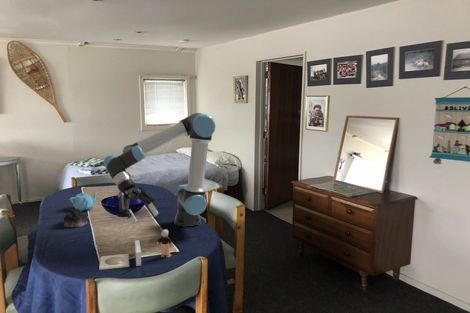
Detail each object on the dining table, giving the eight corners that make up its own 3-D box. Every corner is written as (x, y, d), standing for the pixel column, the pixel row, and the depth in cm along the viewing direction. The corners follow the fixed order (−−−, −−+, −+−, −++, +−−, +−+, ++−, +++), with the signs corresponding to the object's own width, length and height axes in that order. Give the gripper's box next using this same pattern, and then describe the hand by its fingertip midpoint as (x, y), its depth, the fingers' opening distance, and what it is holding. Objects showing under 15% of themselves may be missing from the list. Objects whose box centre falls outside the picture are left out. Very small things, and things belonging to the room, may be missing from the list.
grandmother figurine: (173, 254, 165) (173, 228, 163) (172, 257, 162) (172, 231, 160) (157, 254, 165) (157, 228, 163) (155, 257, 161) (155, 231, 159)
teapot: (68, 212, 221) (67, 195, 219) (81, 204, 235) (80, 188, 233) (87, 214, 220) (86, 196, 217) (99, 206, 233) (98, 190, 231)
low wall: (139, 252, 166) (139, 239, 166) (141, 265, 153) (140, 252, 152) (135, 252, 166) (134, 240, 165) (136, 265, 153) (136, 252, 152)
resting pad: (128, 254, 163) (128, 253, 163) (129, 266, 152) (129, 265, 152) (100, 257, 159) (100, 256, 159) (99, 269, 148) (99, 268, 148)
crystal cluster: (81, 219, 210) (78, 203, 208) (93, 223, 201) (90, 206, 200) (58, 227, 200) (55, 210, 198) (70, 231, 191) (67, 213, 189)
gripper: (139, 182, 185) (161, 216, 179) (99, 192, 164) (121, 230, 158) (147, 174, 181) (168, 208, 176) (106, 182, 160) (129, 221, 155)
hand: (146, 218), depth 167 cm, fingers open, 13 cm apart
